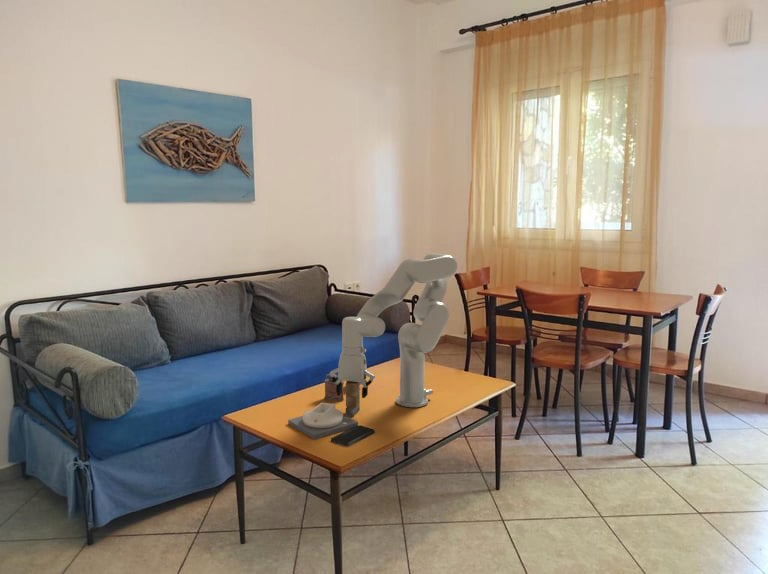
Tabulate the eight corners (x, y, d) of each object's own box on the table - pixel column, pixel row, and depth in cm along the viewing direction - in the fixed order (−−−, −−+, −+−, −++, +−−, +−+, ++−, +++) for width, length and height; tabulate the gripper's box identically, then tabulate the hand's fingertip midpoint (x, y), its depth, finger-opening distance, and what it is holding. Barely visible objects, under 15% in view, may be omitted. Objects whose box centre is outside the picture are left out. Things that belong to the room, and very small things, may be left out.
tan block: (360, 410, 207) (360, 379, 205) (354, 417, 200) (354, 385, 199) (350, 409, 208) (350, 378, 206) (344, 415, 201) (344, 384, 200)
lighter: (345, 398, 219) (345, 374, 218) (341, 401, 216) (341, 377, 215) (326, 396, 222) (326, 372, 221) (323, 399, 219) (322, 375, 218)
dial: (312, 411, 201) (312, 399, 200) (348, 415, 197) (348, 403, 196) (295, 425, 188) (295, 413, 187) (334, 430, 184) (334, 417, 183)
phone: (376, 430, 187) (347, 444, 175) (376, 433, 187) (347, 448, 175) (358, 424, 191) (329, 438, 179) (358, 427, 191) (329, 441, 180)
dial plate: (331, 412, 205) (331, 408, 204) (357, 426, 192) (357, 421, 191) (288, 423, 194) (288, 419, 193) (313, 439, 180) (313, 434, 180)
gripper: (377, 350, 202) (377, 395, 204) (334, 346, 207) (333, 390, 209) (371, 355, 195) (371, 401, 197) (326, 351, 200) (326, 396, 202)
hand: (351, 395), depth 203 cm, fingers open, 9 cm apart
